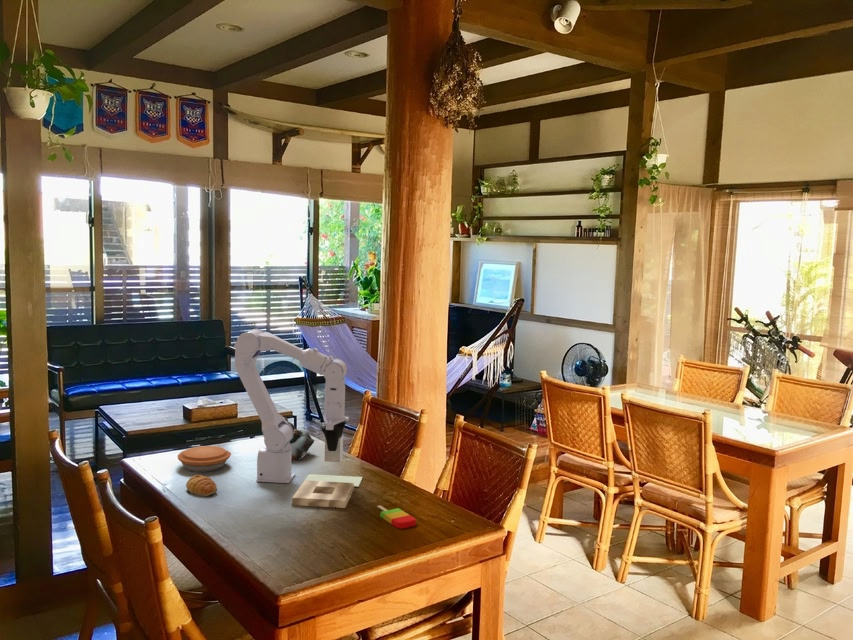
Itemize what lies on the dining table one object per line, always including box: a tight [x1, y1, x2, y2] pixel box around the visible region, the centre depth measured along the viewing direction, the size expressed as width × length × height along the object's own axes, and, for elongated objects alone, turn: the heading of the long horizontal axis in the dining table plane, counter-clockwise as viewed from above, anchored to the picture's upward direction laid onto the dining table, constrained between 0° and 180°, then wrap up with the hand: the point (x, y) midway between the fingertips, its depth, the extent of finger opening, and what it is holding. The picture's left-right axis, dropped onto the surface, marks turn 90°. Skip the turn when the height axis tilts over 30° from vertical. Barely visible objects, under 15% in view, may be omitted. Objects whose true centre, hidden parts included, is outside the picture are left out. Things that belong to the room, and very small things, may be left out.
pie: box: [177, 445, 232, 473], centre depth 216 cm, size 16×16×5 cm
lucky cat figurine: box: [262, 417, 315, 462], centre depth 228 cm, size 15×12×14 cm
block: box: [324, 433, 344, 463], centre depth 205 cm, size 4×4×7 cm
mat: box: [304, 473, 364, 487], centre depth 206 cm, size 16×8×1 cm, turn 87°
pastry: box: [185, 474, 218, 497], centre depth 194 cm, size 9×7×4 cm
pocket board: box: [291, 479, 355, 509], centre depth 193 cm, size 14×14×2 cm
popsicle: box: [376, 504, 417, 529], centre depth 181 cm, size 6×15×2 cm, turn 33°
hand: (333, 448), depth 205 cm, fingers closed on block, 4 cm apart
